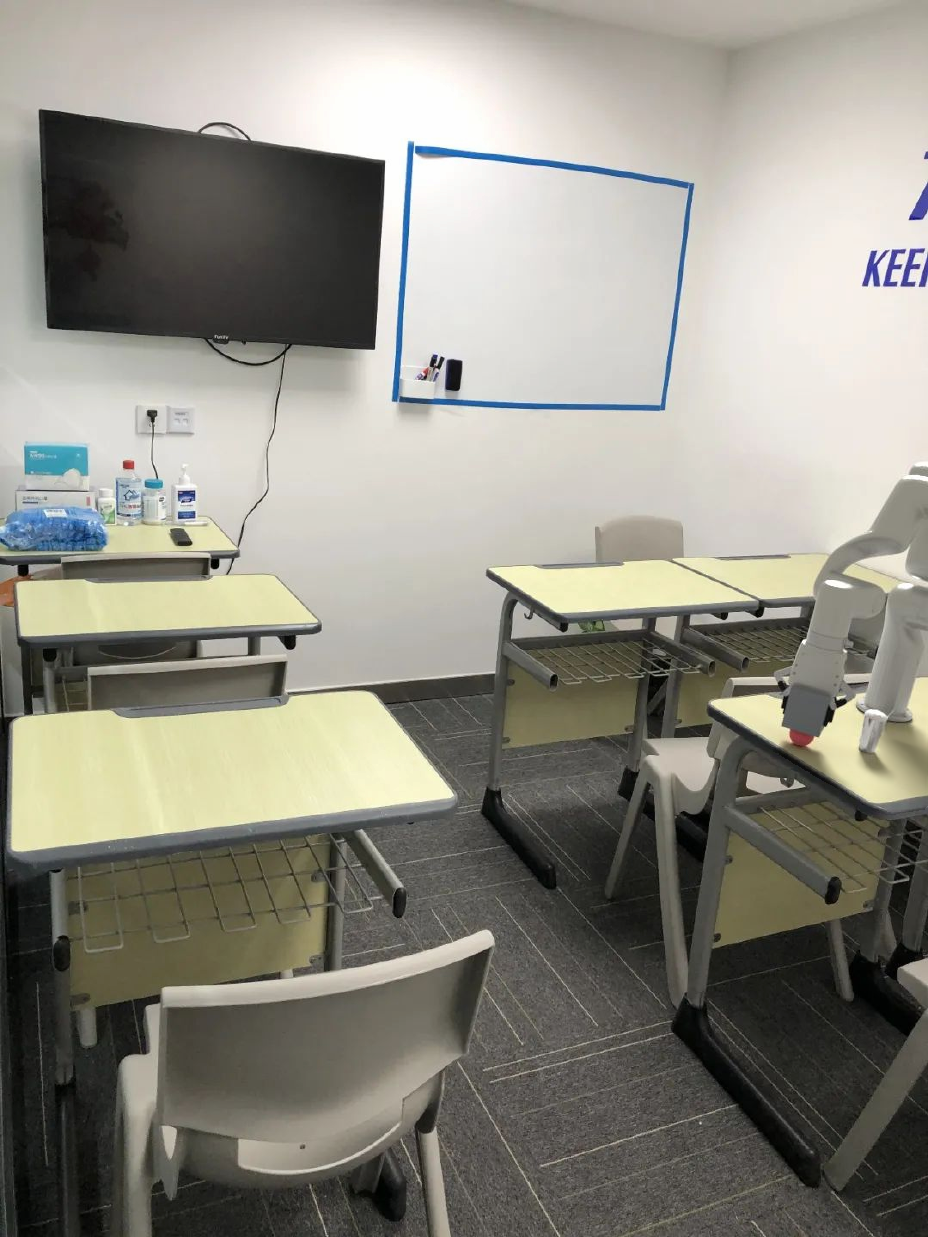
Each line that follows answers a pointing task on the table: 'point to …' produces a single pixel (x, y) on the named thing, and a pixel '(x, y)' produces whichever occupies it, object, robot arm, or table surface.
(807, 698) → the grey cube
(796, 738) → the ball
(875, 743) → the milkshake
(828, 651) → the robot arm
